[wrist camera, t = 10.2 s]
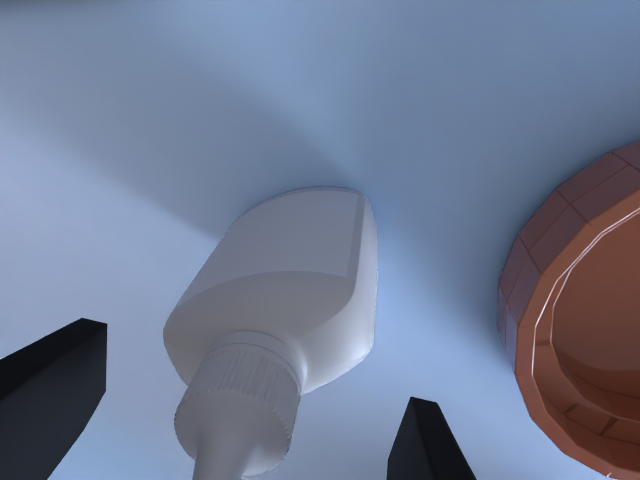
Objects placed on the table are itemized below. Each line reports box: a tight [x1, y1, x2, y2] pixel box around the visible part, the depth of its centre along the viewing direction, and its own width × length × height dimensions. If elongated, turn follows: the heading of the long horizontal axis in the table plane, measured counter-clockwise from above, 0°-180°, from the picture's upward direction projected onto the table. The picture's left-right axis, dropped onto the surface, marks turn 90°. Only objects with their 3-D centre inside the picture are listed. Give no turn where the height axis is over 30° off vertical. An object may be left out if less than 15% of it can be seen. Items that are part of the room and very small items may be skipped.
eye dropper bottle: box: [163, 187, 378, 480], centre depth 14 cm, size 4×6×12 cm
